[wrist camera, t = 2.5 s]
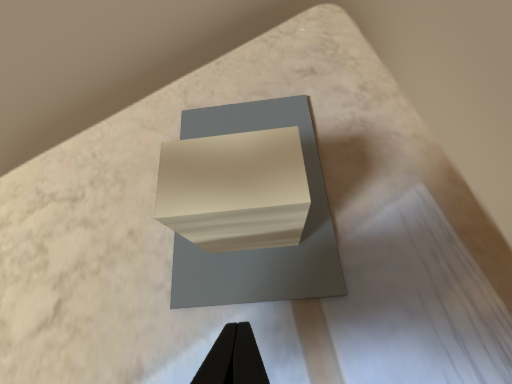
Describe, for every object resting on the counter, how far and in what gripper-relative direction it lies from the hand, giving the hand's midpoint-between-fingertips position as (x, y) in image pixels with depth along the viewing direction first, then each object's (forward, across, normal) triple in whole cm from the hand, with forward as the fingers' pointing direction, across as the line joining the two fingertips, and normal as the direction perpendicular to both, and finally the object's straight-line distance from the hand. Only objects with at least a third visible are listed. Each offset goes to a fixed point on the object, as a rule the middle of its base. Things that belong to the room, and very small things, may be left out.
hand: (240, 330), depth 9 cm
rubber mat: (+11, 0, -1) cm, 11 cm away
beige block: (+9, 0, +1) cm, 9 cm away
